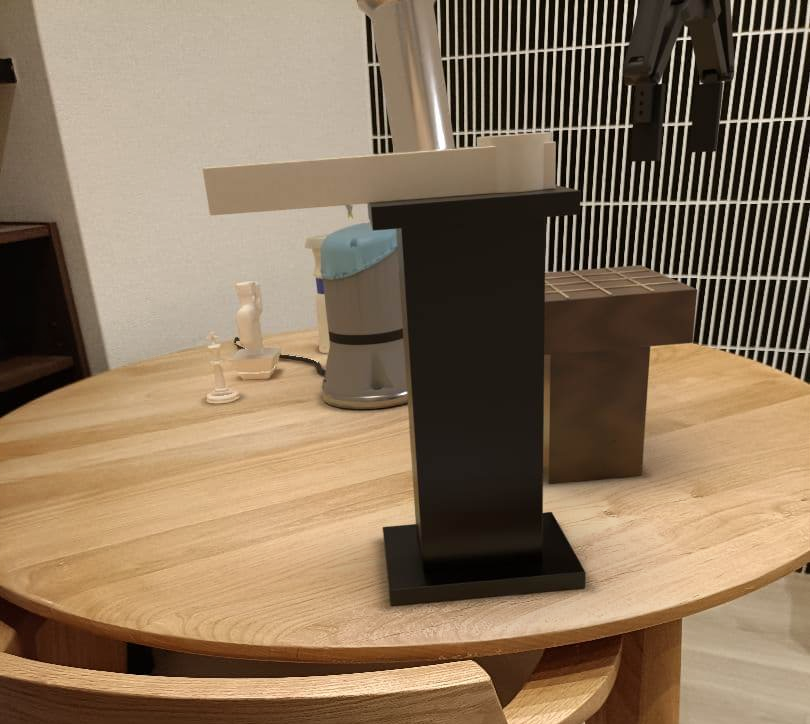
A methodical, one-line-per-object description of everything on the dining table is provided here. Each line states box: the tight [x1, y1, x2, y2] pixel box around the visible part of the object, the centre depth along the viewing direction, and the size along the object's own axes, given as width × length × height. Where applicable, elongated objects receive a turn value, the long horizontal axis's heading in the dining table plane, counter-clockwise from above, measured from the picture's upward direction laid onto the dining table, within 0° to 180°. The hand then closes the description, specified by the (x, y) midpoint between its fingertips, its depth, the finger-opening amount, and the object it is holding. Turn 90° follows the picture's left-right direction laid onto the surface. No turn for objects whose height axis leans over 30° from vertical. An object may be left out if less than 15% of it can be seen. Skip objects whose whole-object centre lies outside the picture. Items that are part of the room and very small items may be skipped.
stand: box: [367, 184, 587, 607], centre depth 65 cm, size 16×12×30 cm
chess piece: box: [206, 331, 240, 405], centre depth 122 cm, size 5×5×10 cm
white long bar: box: [202, 131, 557, 216], centre depth 58 cm, size 24×5×4 cm, turn 94°
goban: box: [543, 264, 698, 484], centre depth 87 cm, size 16×16×20 cm
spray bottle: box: [304, 205, 354, 354], centre depth 143 cm, size 8×9×25 cm
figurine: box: [228, 280, 283, 381], centre depth 132 cm, size 7×9×15 cm
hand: (675, 156), depth 84 cm, fingers open, 13 cm apart
